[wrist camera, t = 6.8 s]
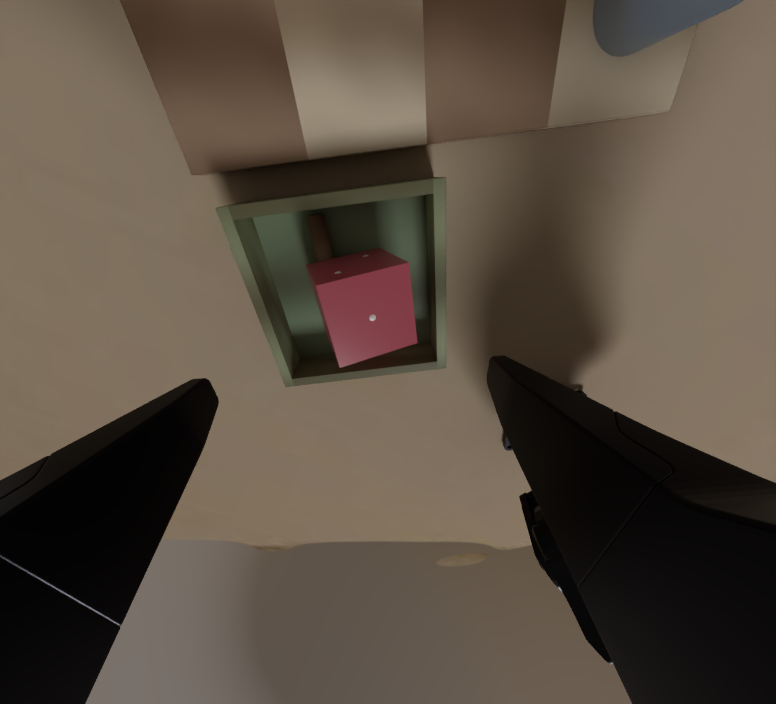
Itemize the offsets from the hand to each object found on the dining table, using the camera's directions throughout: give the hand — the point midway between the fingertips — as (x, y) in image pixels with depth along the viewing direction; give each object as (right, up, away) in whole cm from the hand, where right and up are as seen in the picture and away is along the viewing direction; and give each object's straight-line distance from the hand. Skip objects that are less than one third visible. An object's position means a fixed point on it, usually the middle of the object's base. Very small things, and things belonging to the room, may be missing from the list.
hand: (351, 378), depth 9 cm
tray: (-1, +5, +10) cm, 11 cm away
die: (-1, +5, +9) cm, 10 cm away
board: (+3, +15, +4) cm, 16 cm away
